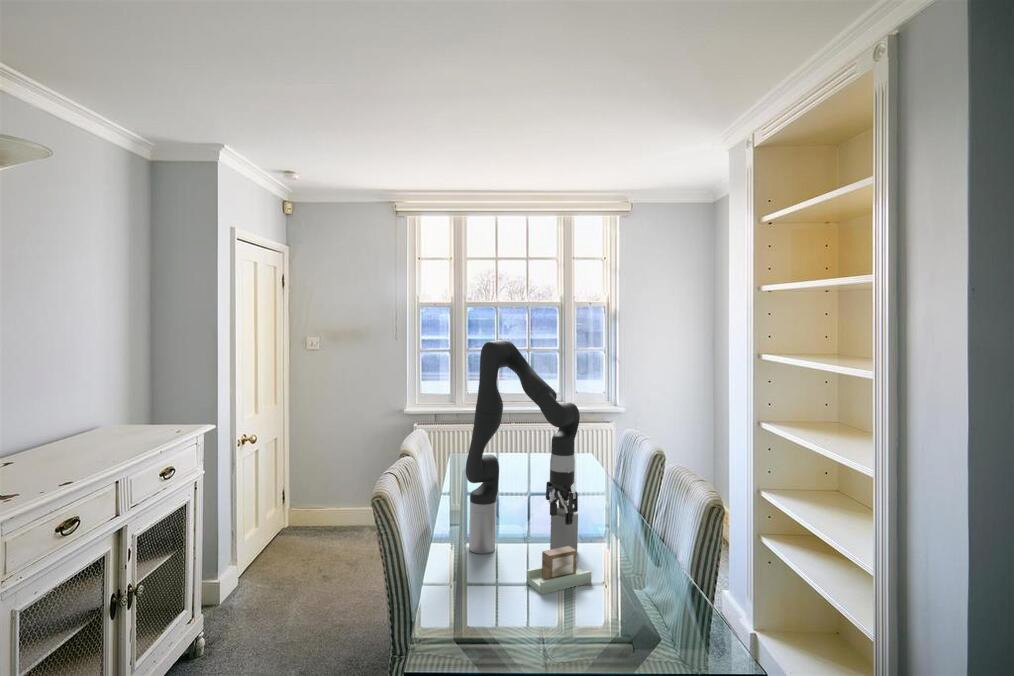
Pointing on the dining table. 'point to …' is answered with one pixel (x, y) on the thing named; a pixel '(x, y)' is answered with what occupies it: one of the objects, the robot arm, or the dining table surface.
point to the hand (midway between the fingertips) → (560, 519)
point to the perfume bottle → (563, 529)
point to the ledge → (556, 580)
